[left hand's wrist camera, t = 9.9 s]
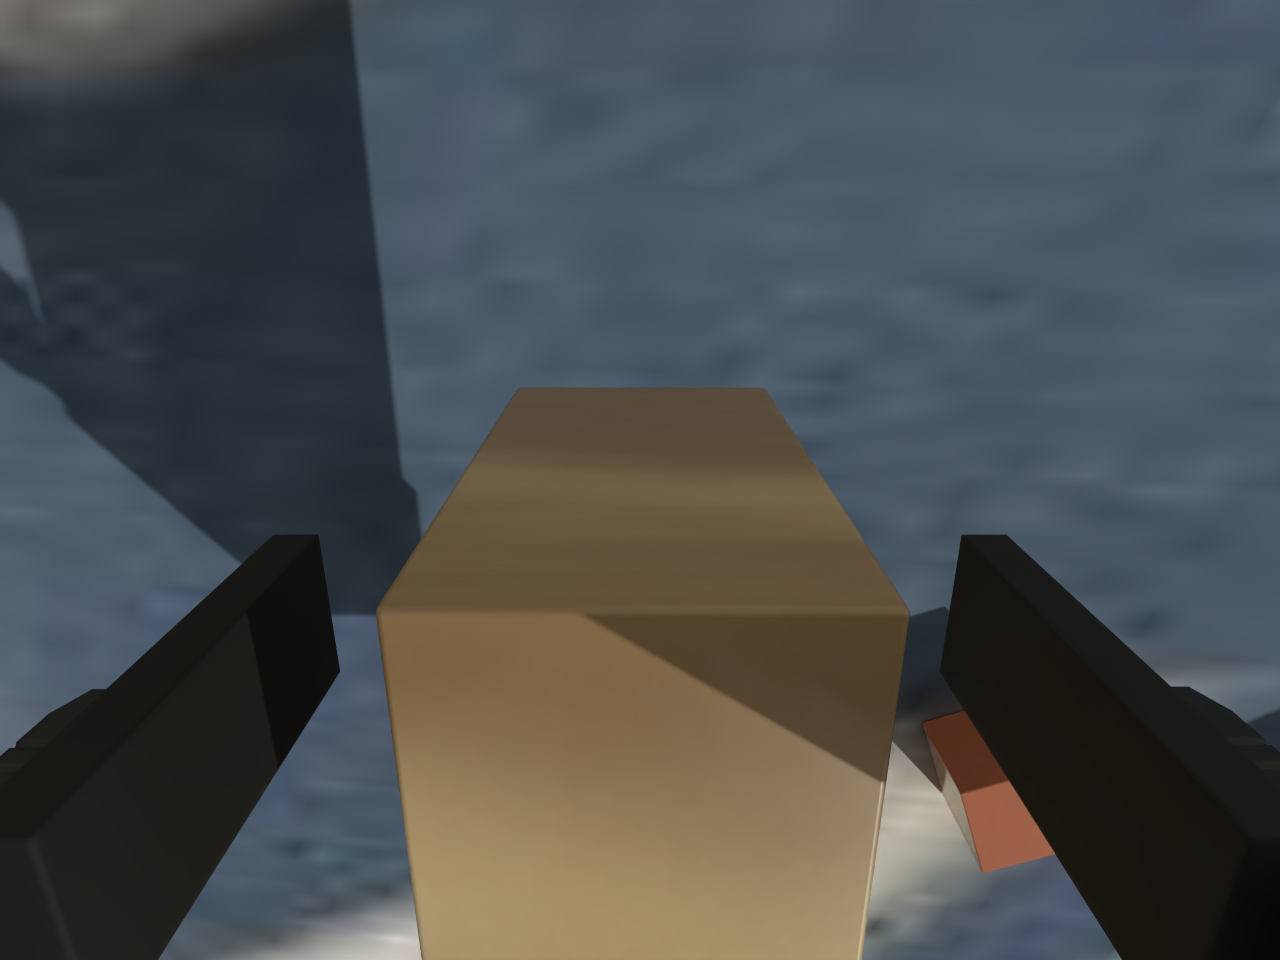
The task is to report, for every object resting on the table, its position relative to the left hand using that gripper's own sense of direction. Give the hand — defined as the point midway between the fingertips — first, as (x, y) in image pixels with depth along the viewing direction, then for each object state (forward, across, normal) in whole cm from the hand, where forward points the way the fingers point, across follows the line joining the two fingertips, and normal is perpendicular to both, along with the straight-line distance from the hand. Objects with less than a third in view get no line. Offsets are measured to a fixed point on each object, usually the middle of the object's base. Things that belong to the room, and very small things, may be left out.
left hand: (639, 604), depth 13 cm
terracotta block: (+14, -14, +14) cm, 25 cm away
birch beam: (+2, 0, +8) cm, 9 cm away
